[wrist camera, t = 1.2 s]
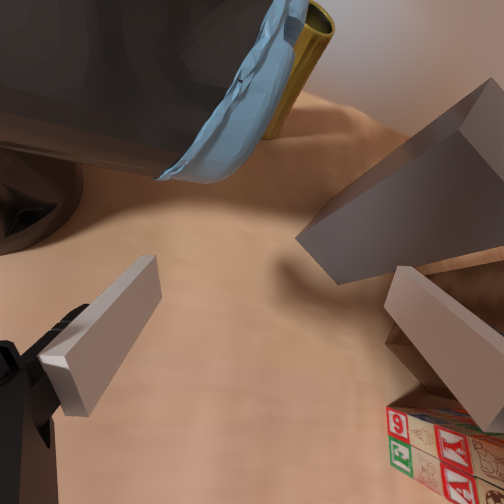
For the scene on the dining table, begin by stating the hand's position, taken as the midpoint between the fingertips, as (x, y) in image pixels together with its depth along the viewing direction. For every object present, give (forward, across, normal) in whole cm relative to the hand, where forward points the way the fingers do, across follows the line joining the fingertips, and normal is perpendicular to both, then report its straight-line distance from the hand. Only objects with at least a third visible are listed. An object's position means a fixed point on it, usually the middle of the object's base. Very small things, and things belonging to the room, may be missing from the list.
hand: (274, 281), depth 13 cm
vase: (+31, -1, +10) cm, 32 cm away
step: (+22, +12, -5) cm, 26 cm away
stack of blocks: (+8, +26, -28) cm, 40 cm away
